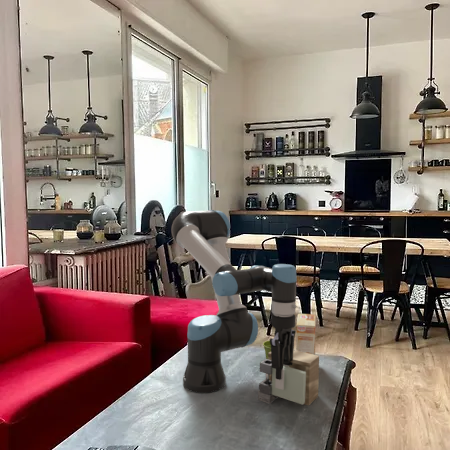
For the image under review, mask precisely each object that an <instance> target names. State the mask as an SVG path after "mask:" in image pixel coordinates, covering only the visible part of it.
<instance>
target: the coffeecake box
mask: <svg viewBox="0 0 450 450" xmlns="http://www.w3.org/2000/svg"><path fill="white" fill-rule="evenodd" d="M296 317H297V320H296V333H295V337H296V339H295V340H296V341H295V343H296V344H295V346H296V347H295V350H296V351H300V352H305V353H309V354H313V355H316V328H317V327H316V326H317V325H316V323H317V321H316V314H310V313H298V314H297V316H296Z"/></svg>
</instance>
